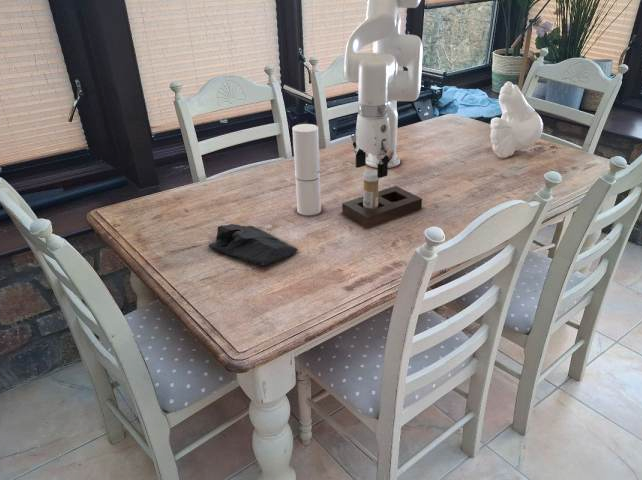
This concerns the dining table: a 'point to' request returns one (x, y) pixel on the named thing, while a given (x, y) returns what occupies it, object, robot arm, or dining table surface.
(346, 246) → the dining table surface
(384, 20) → the robot arm
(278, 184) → the dining table surface
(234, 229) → the folded black cloth
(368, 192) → the sprinkles bottle
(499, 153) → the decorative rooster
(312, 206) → the cylindrical container
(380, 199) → the peg block
